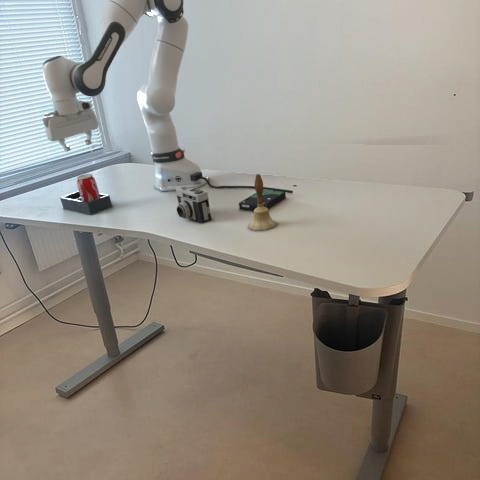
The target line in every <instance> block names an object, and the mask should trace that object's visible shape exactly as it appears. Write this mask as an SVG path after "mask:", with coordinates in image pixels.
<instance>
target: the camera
mask: <svg viewBox="0 0 480 480" xmlns="http://www.w3.org/2000/svg"><path fill="white" fill-rule="evenodd" d="M175 193H176V199H177V203H178V204H177V207H176V213H177V215H178V216H179V217H180V218H182V219H187V220H188V219H189V220H191V221H195V222H198V223H199V224H204V223H207V222H209V221H211V220H212V212H211V207H210V202H209V195H208V194H209V193H208V191H205V190H203V189H200V188H194V187H190V186H182V187H179V188H176V190H175Z"/></svg>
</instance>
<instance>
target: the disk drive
mask: <svg viewBox="0 0 480 480" xmlns="http://www.w3.org/2000/svg"><path fill="white" fill-rule="evenodd" d="M262 197H263V206H264V207H266V208H268V210H270V209H272V208H273V207H275V206H276V205H278V204H280V203H281V202H282V201H284V200H286V197H287V194H286V192H285V191H274V190H265V189H263V194H262ZM257 207H258V198H257V193H256V192H254V193H253V194H252V195H250V196H248V197H247V198H245V199H243V200H241V201H240V202H238V208H239V210H241V211H247V212H254V210H255V209H256V208H257Z"/></svg>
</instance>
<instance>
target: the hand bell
mask: <svg viewBox="0 0 480 480" xmlns="http://www.w3.org/2000/svg"><path fill="white" fill-rule="evenodd" d="M254 186H255V193H257V198H258V207H257V208H256V209H255V210H254V211H253V218H252V221H251V223H250V224H249V229H250V230H253V231H257V232H258V231H268V230H270V229H271V230H272V229H273V228H275V227H276V225H277V223H276V221H274V220H273V219H272V216H271V215H270V211H269V209H268V208H266V207H264V206H263V197H262V194H263V190H264V189H263V187H264V181H263V178H262V176H261V174H260V173H258V174H255V179H254Z"/></svg>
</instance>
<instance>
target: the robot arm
mask: <svg viewBox="0 0 480 480" xmlns="http://www.w3.org/2000/svg"><path fill="white" fill-rule="evenodd" d="M144 15H146V16H147V17H149V18H156V19H157V23H158V31H157V34H156V38H155V42H154V45H153V49H152V53H151V56H150V61H149V74H148V81H147V83H143V85H141V86H140V88H139V89H138V91H137V96H136V97H137V98H136V99H137V101H138V105H139V108H140V113H141V115H142V118H143V122H144V124H145V127H146V131H147V134H148V139H149V144H150V148H151V152H150V154H151V159H152V163H153V166H154V173H155V185H154V186H155V188H156V189H158V190H160V191H161V192H170V191H171V192H172V191H176V188H179V187H182V186H190V187H194V188H196V189H199V188H200V187H202V186H205V184H207V185H208V186H209V187H210V188H212V189H252V190H253V189H255V185H219V186H217V185H216V186H215V185H213V184H211V183H210V181H209V176H208V175H203V172H202V169H201V167H200V166H199V165H198V164H197V163H195V162H193V161H192V160H191V159H189V158H187V157H185V152H186V149H185V148H184V149H182V148H180V147H179V140H178V135H177V130H176V126H175V125H174V122H173V119H172V116H171V112H172V111H173V110H174V108H175V106H176V93H177V84H178V76H179V72H180V69H181V65H182V60H183V58H184V54H185V49H186V46H187V42H188V35H189V23H188V20H187V19H186V18H185V16H184V0H108V2H107V4H106V6H105V8H104V10H103V13H102V16H101V19H100V24H101V28H102V29H101V30H102V34H101V37H100V40H99V41H98V43H97V45H96V47H95V48H94V50H93V52H92V54H91V56H90V58H89V59H88V60H87V61H85V62H84V63H83V62H77V61H74V60H71V59H68V58H65V57H64V56H63V55H56V56H52V57H50V58H48V59H46V60H45V61H43V62H42V63H43V64H42V75H43V78H44V83H45V86H46V88H47V90H48V92H49V95H50V101H51V105H52V107H53V111H51V112H46V113H44V115H43V116H42V122H43V125H44V128H45V133H46V136H47V140H48V141H50V142H58V143H59V144H60V145H61V146H62V147H63V150H64V152H65V153H67V152H70V151H71V146H70V145H67V144H66V143H65V142H66V139H68V138H71V137H75V136H78V135H81V134H85V135H86V139H84V142H85V145H86V146H89V145H92V144H93V143H92V142H93V141H92V136H93V132H92V131H95V130H98V128H99V125H100V124H99V121H98V118H97V115H96V112H95V111H94V109H93V105H92V103H91V102H90V101H83V100H78V97H77V94H82V95H84V96H87V97H92V98H93V97H97V96H98V95H100V94H101V93H102V92H103V91H104V89H105V87H106V82H107V80H106V79H107V73H108V70H109V69H110V67H111V64H112V63H113V61H114V59H115V57H116V55H117V53H118V52H119V50H120V48H121V46H122V45H123V44H124V43H125V42H126V40H128V38H129V37H130V35H131V34H132V33H133V31H134V30H135V29H136V27H137V25H138V23H139V22H140V20H141V18H142V17H143V16H144ZM263 190H267V191H273V190H274V191H285V193H289V194H293V193H294V190H291V189H290V190H289V189H283V188H277V187H268V186H267V187H266V186H263Z"/></svg>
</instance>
